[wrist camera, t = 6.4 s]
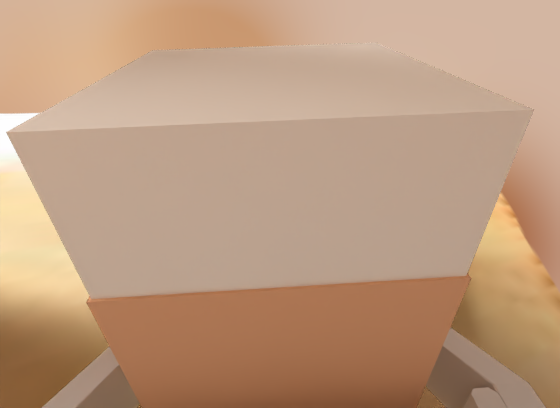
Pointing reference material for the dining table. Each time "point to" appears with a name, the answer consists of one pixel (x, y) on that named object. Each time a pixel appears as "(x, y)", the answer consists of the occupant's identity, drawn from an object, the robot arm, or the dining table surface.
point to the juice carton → (274, 218)
